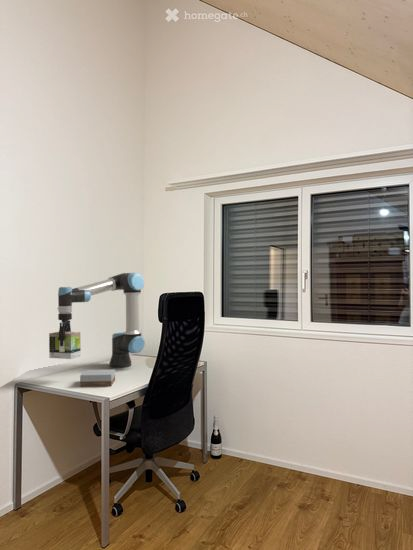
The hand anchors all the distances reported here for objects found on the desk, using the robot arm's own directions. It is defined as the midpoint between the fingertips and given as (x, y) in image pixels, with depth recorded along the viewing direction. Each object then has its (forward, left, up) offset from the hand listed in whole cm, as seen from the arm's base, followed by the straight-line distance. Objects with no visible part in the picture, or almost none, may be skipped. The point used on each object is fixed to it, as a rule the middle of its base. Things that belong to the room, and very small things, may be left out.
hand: (65, 349), depth 234 cm
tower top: (+7, +21, -15) cm, 27 cm away
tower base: (+7, +21, -19) cm, 29 cm away
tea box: (0, 0, -5) cm, 5 cm away
